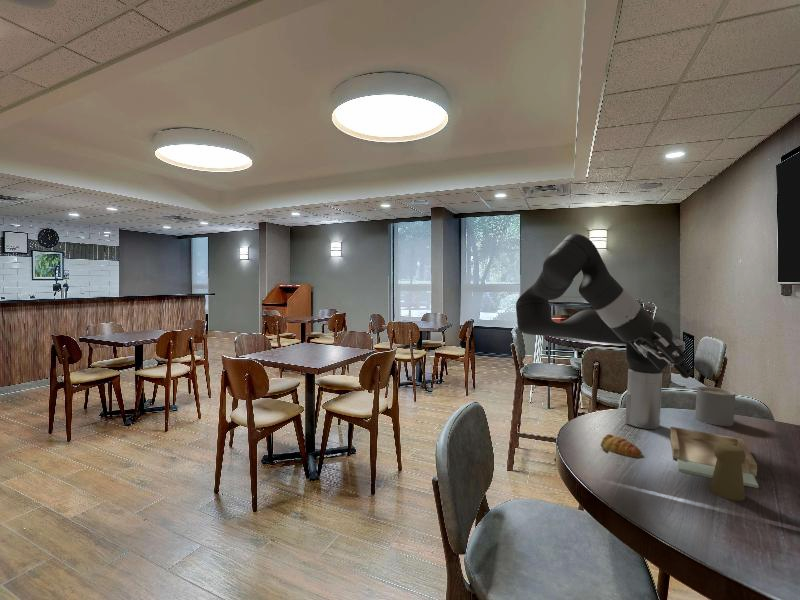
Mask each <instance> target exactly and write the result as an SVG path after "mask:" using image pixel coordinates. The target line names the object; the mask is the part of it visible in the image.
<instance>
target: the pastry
mask: <svg viewBox="0 0 800 600" xmlns="http://www.w3.org/2000/svg"><path fill="white" fill-rule="evenodd" d="M600 447H601V448H602V450H603V451H605V452H612V453H615V454H618V455H622V456H625V457H631V458H641V456H642V454H643V452H642V450H640V449H639V448H638V446H636V445H635V444H633V443H632V442H629V441H628V440H627V439H626V438H621V437H620V436H615V435H612V434H610V433H608V434H606V435H605V436H603V438H602V440H601V443H600Z"/></svg>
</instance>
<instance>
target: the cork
mask: <svg viewBox="0 0 800 600" xmlns="http://www.w3.org/2000/svg"><path fill="white" fill-rule="evenodd" d="M714 454H715V456H716V458H717V461H716V465H715V469H714V473H713V478H711V483H710V487H709V491H710V492H712V493H713V494H714V495H716V496H718V497H720V498H723V499H726V500H731V501H739V502H740V501H744V500H745V499H746V496H745V495H746V494H745V485H744V483H743V474H742V464H743V463H744V462H745V458H746V455H745V452H744V451H743V449H741V448H740V447H738V446H735V445H731V444H726V443H720V444H717V445H716V446H715V448H714Z"/></svg>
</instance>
